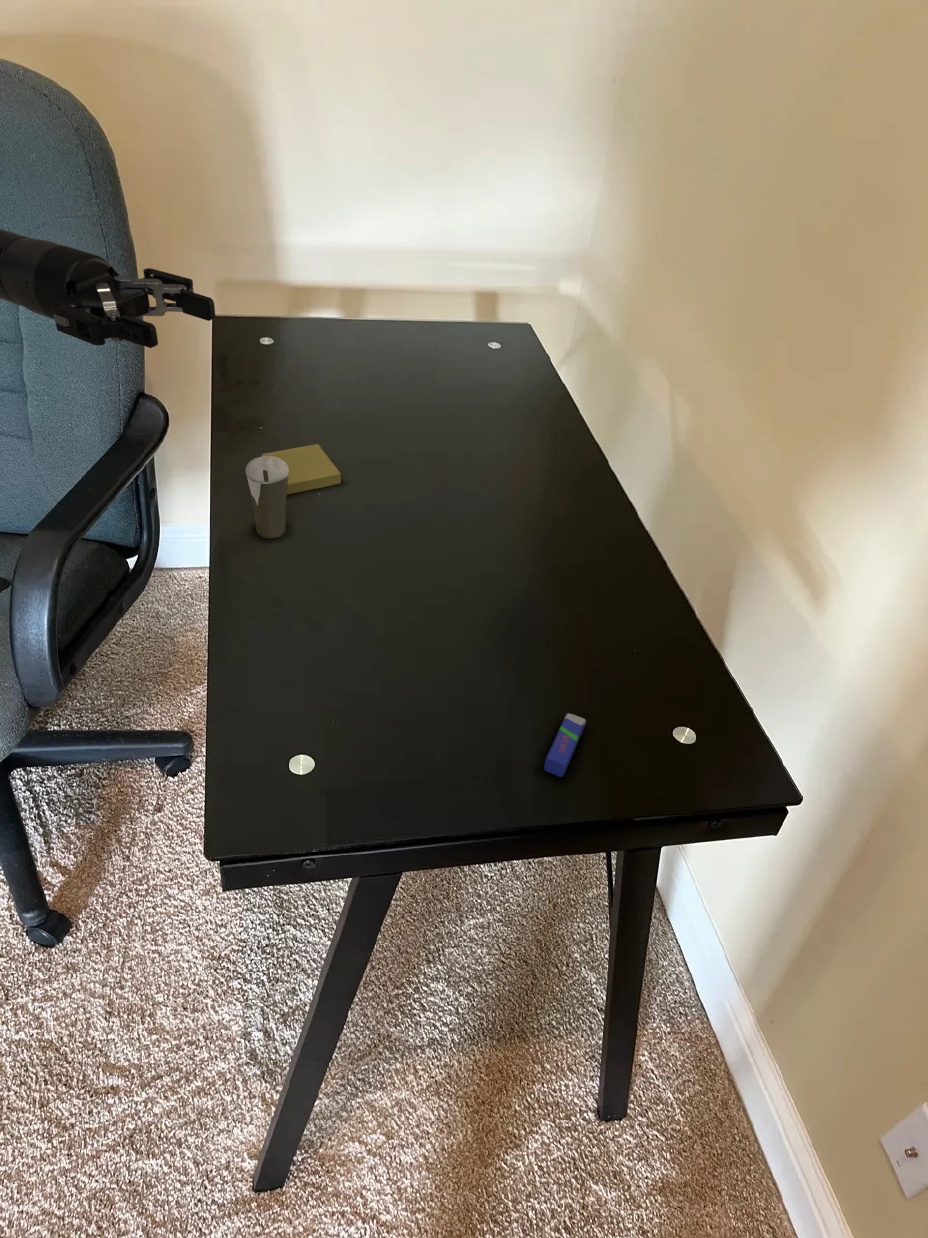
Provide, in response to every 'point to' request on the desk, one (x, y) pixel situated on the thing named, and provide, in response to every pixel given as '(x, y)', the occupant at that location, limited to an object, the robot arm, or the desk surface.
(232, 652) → the desk surface
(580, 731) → the eraser
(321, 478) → the note pad
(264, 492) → the milkshake
